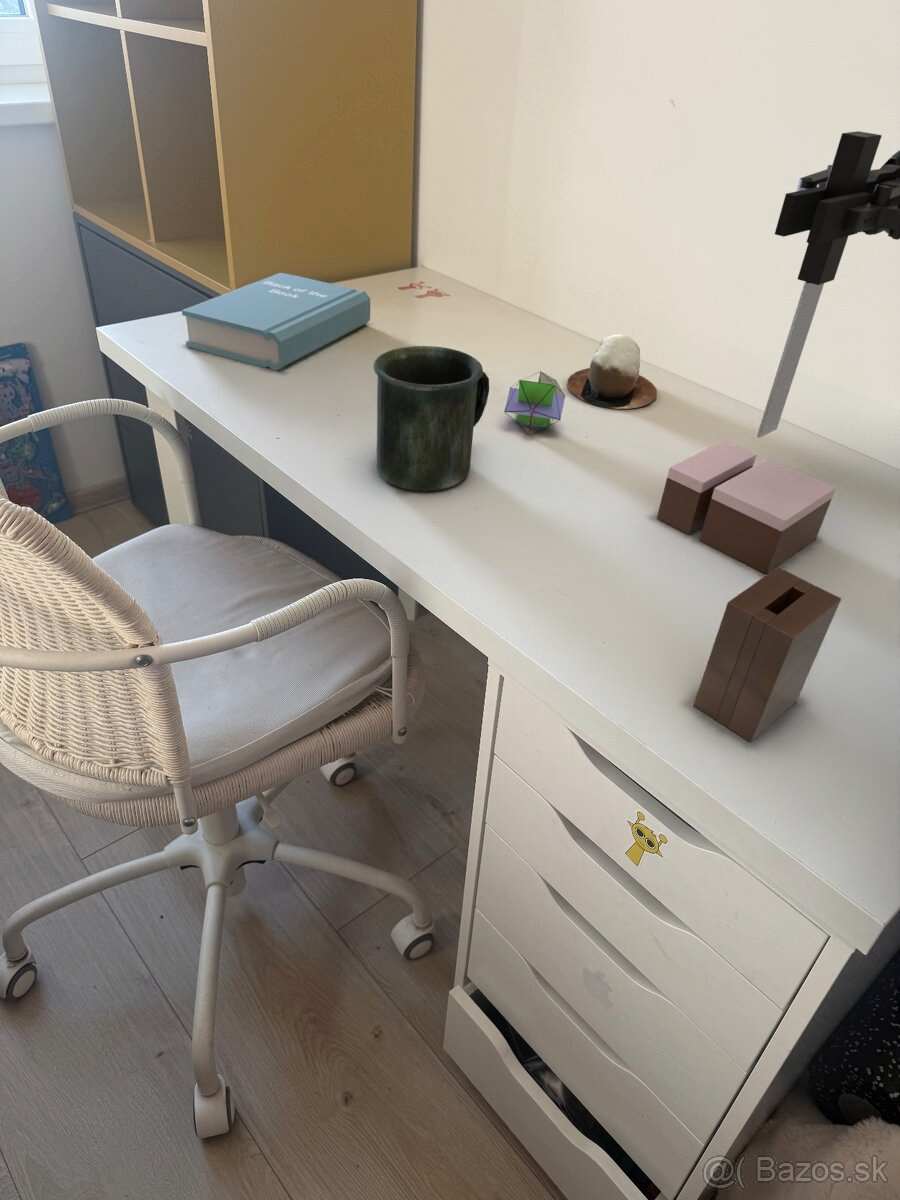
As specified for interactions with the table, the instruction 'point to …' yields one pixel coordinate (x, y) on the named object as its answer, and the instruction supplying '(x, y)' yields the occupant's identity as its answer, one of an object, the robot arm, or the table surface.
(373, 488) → the table surface
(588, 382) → the hat
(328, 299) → the book
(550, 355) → the table surface
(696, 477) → the cake slice
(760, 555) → the cake
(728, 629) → the knife block
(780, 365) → the knife
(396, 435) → the mug
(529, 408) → the geometric puzzle
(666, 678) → the table surface
